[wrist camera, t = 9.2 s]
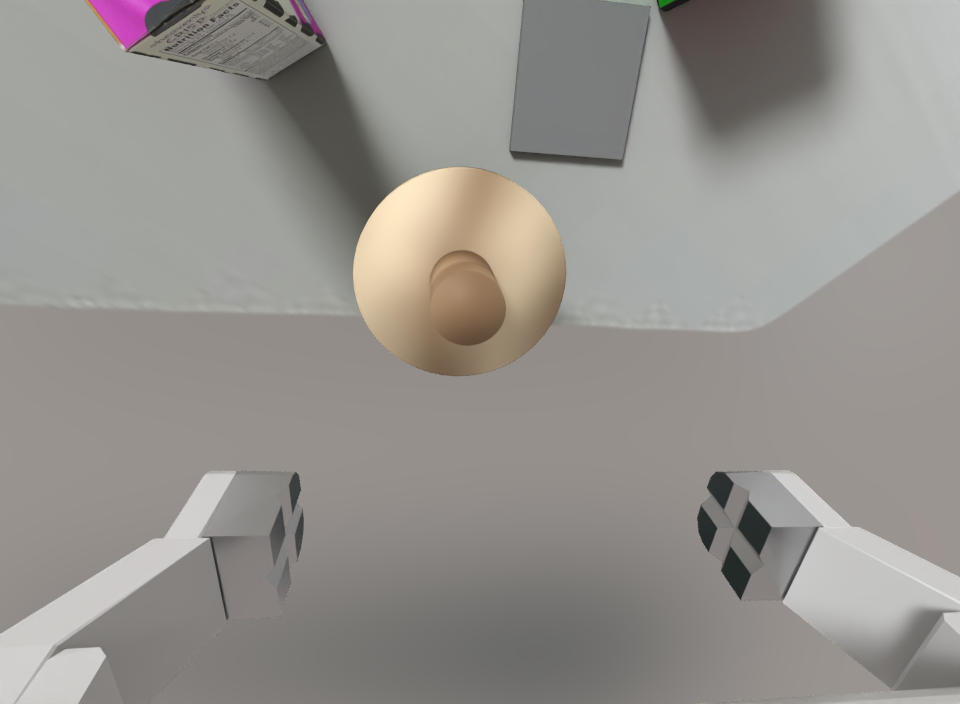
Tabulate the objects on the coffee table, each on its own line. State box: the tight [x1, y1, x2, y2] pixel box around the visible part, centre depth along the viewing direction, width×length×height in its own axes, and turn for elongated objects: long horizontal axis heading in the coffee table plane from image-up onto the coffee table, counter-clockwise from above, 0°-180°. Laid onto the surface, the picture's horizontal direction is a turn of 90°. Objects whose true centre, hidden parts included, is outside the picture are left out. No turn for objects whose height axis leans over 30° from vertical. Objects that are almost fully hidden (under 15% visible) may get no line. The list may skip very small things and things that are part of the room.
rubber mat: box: [509, 0, 651, 160], centre depth 32 cm, size 8×9×1 cm
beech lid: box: [353, 167, 566, 376], centre depth 22 cm, size 10×10×5 cm
